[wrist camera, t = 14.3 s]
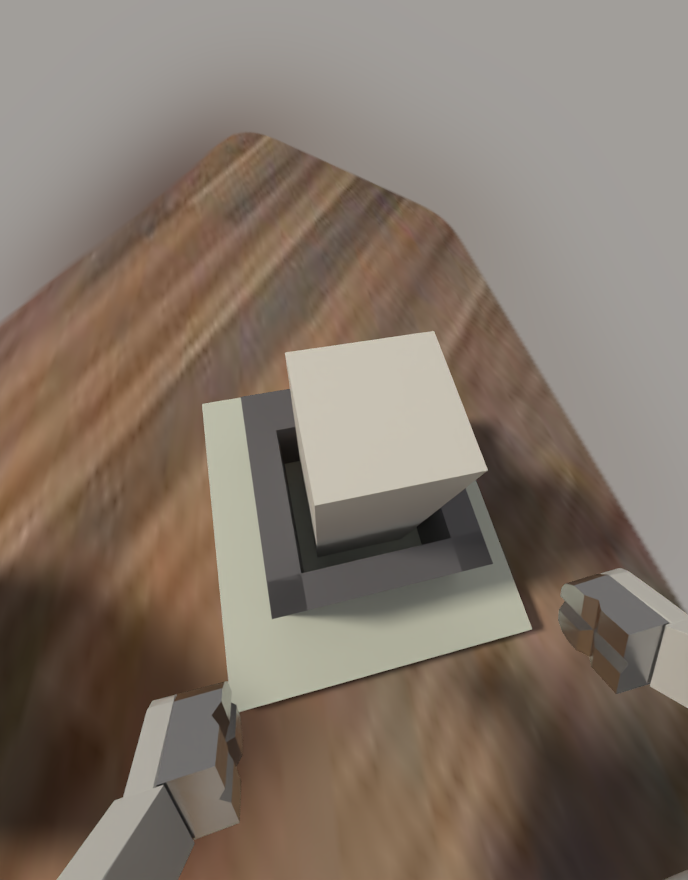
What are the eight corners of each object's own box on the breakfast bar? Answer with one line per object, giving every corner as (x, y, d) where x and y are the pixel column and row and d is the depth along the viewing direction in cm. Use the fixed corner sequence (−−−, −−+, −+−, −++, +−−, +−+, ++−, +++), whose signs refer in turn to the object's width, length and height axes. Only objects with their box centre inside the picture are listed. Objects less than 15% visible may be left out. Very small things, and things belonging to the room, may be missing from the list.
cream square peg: (401, 538, 18) (487, 470, 9) (317, 557, 17) (314, 505, 8) (374, 442, 20) (422, 302, 10) (298, 457, 19) (278, 322, 10)
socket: (521, 627, 17) (593, 637, 13) (236, 707, 16) (202, 751, 11) (428, 375, 23) (455, 317, 18) (207, 412, 21) (175, 359, 16)
